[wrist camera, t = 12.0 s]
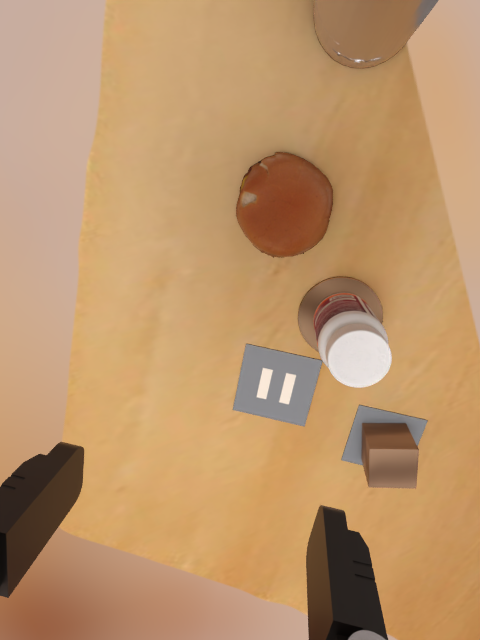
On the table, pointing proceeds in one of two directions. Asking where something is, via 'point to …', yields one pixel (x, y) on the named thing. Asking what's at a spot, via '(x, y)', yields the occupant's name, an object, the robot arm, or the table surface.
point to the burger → (284, 205)
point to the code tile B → (377, 416)
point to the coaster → (328, 289)
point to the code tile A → (276, 384)
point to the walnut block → (389, 455)
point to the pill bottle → (351, 340)
